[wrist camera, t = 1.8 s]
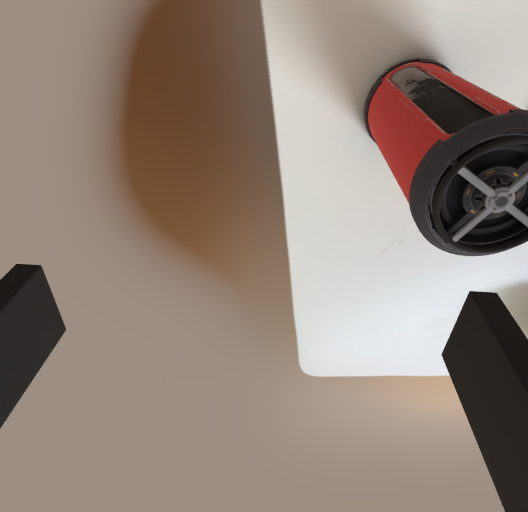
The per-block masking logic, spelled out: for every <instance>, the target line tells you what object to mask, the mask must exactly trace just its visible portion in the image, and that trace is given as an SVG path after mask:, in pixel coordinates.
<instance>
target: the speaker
mask: <svg viewBox="0 0 528 512" xmlns="http://www.w3.org/2000/svg"><path fill="white" fill-rule="evenodd" d="M364 120H365V125H366V129H367V131H368V133H369V135H370V137H371V138H372V140H373V141H374V142H375V143H376V144H377V145H378V147H379V149H380V151H381V153H382V154H383V156H384V158H385V160H386V162H387V164H388V165H389V167H390V169H391V171H392V173H393V175H394V177H395V178H396V180H397V182H398V184H399V186H400V188H401V189H402V191H403V193H404V195H405V197H406V199H407V201H408V202H409V206H410V210H411V214H412V216H413V219H414V221H415V223H416V225H417V227H418V229H419V230H420V232H421V233H422V235H423V236H424V237H425V238H426V239H427V240H428V241H429V242H430V243H431V244H433V245H434V246H435V247H437V248H439V249H441V250H443V251H446V252H448V253H452V254H456V255H463V256H483V255H490V254H495V253H499V252H502V251H506V250H508V249H511V248H514V247H516V246H518V245H521V244H523V243H525V242H527V241H528V110H522V109H520V108H518V107H516V106H514V105H512V104H510V103H508V102H506V101H504V100H502V99H501V98H499V97H497V96H495V95H493V94H491V93H489V92H487V91H485V90H483V89H482V88H480V87H478V86H476V85H474V84H472V83H470V82H468V81H466V80H464V79H463V78H461V77H459V76H457V75H455V74H453V73H452V72H451V71H450V70H449V69H448V68H447V67H445V66H444V65H442V64H440V63H438V62H436V61H433V60H429V59H421V58H420V59H410V60H407V61H404V62H401V63H399V64H397V65H395V66H393V67H391V68H390V69H389V70H387V71H386V72H385V73H384V74H383V75H382V76H381V77H380V78H379V79H378V80H377V81H376V83H375V84H374V85H373V87H372V88H371V90H370V92H369V95H368V97H367V100H366V104H365V109H364Z"/></svg>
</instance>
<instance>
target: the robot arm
mask: <svg viewBox="0 0 528 512" xmlns="http://www.w3.org/2000/svg"><path fill="white" fill-rule="evenodd" d="M65 331H66V328H65V325H64V323H63V320H62V318H61V315H60V312H59V310H58V307H57V305H56V302H55V300H54V297H53V294H52V292H51V289H50V287H49V284H48V282H47V279H46V276H45V274H44V271H43V269H42V266H41V265H26V264H16V265H15V266H14V267H13V268H12V269H11V270H10V271H9V272H8V273H7V274H6V275H5V276H4V277H3V278H2V279H1V280H0V428H1V427H2V425H3V423H4V422H5V421H6V419H7V417H8V416H9V414H10V413H11V411H12V410H13V409H14V407H15V406H16V404H17V403H18V401H19V399H20V398H21V397H22V395H23V393H24V392H25V391H26V389H27V388H28V386H29V385H30V383H31V382H32V380H33V379H34V377H35V376H36V374H37V373H38V371H39V370H40V368H41V367H42V365H43V364H44V362H45V361H46V359H47V358H48V356H49V355H50V353H51V351H52V350H53V349H54V347H55V346H56V344H57V343H58V341H59V340H60V338H61V337H62V335H63V334H64V332H65ZM442 357H443V359H444V362H445V364H446V367H447V369H448V372H449V374H450V377H451V379H452V382H453V384H454V387H455V389H456V392H457V394H458V396H459V399H460V401H461V404H462V406H463V409H464V411H465V414H466V416H467V418H468V421H469V424H470V426H471V428H472V431H473V433H474V436H475V438H476V441H477V443H478V446H479V448H480V451H481V453H482V455H483V458H484V461H485V463H486V466H487V468H488V470H489V473H490V475H491V478H492V480H493V483H494V485H495V488H496V490H497V493H498V495H499V498H500V500H501V502H502V505H503V507H504V510H505V512H528V339H527V338H526V336H525V335H524V333H523V332H522V330H521V329H520V327H519V326H518V324H517V323H516V321H515V320H514V318H513V317H512V315H511V314H510V312H509V311H508V309H507V308H506V306H505V305H504V303H503V302H502V300H501V299H500V297H499V296H498V294H497V293H491V292H474V291H470V292H469V294H468V296H467V298H466V301H465V303H464V305H463V307H462V310H461V312H460V314H459V316H458V319H457V321H456V323H455V325H454V328H453V330H452V332H451V334H450V337H449V339H448V341H447V343H446V346H445V348H444V350H443V352H442Z"/></svg>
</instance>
